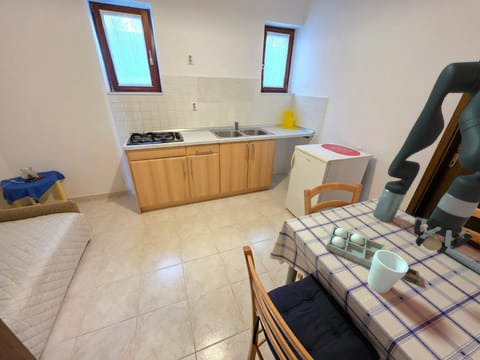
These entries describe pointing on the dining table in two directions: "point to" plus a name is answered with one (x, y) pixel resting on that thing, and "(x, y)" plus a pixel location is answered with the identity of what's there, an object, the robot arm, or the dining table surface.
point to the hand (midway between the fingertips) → (428, 248)
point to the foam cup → (386, 270)
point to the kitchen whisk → (456, 255)
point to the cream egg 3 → (357, 239)
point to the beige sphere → (432, 243)
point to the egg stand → (412, 276)
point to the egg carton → (355, 249)
